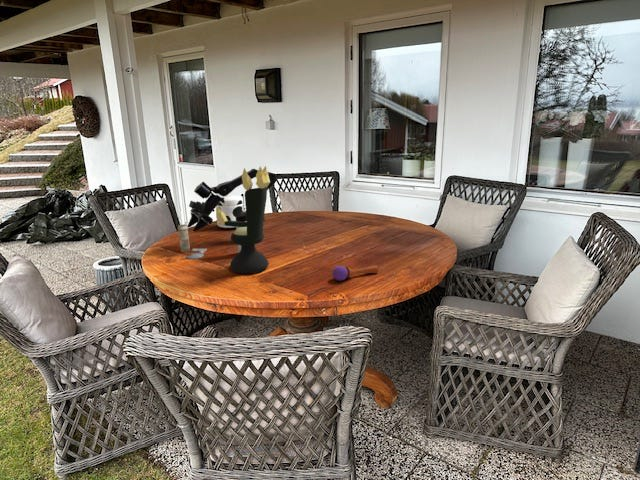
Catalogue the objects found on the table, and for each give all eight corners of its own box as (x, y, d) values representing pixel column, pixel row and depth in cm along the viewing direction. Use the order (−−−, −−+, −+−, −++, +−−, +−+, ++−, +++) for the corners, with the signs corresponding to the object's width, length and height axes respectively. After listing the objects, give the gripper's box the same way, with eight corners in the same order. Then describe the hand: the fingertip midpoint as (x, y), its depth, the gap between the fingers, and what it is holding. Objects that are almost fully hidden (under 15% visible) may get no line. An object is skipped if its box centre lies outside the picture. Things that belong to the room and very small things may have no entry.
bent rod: (207, 250, 211) (206, 248, 211) (201, 253, 207) (201, 251, 206) (194, 249, 213) (194, 247, 213) (189, 252, 209) (188, 250, 208)
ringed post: (192, 249, 213) (190, 224, 210) (187, 252, 209) (184, 227, 205) (184, 248, 215) (181, 224, 211) (178, 251, 210) (175, 226, 207)
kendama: (381, 266, 173) (337, 271, 164) (378, 279, 175) (335, 284, 166) (373, 259, 177) (331, 263, 169) (371, 272, 180) (329, 276, 171)
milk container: (212, 227, 256) (209, 197, 251) (236, 222, 268) (234, 194, 262) (226, 232, 244) (223, 201, 239) (252, 226, 255) (249, 197, 250)
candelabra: (252, 258, 198) (245, 161, 185) (287, 267, 184) (282, 163, 172) (220, 269, 184) (210, 165, 171) (254, 280, 171) (246, 168, 158)
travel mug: (249, 256, 201) (246, 215, 195) (236, 255, 202) (233, 214, 197) (254, 252, 207) (251, 212, 201) (241, 251, 208) (238, 212, 202)
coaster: (207, 254, 205) (206, 253, 205) (197, 259, 198) (197, 258, 198) (192, 253, 207) (192, 252, 207) (183, 258, 200) (183, 257, 200)
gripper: (192, 192, 216) (172, 216, 214) (204, 197, 201) (183, 223, 199) (208, 205, 223) (190, 228, 220) (221, 211, 208) (201, 236, 205)
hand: (190, 229), depth 211 cm, fingers open, 9 cm apart
